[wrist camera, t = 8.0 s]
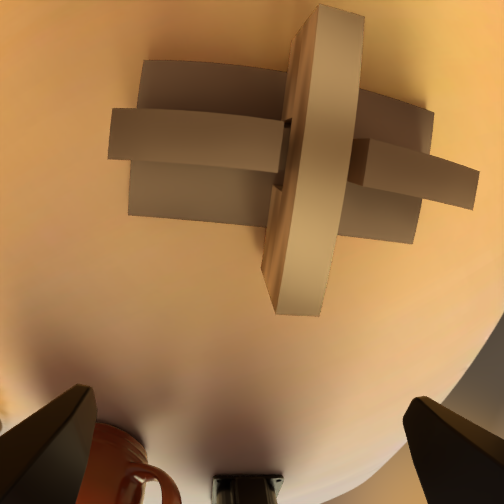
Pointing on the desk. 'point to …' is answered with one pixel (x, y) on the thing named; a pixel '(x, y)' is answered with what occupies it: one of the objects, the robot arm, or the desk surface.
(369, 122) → the joint base
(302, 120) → the oak plate
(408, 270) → the desk surface
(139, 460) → the mug
